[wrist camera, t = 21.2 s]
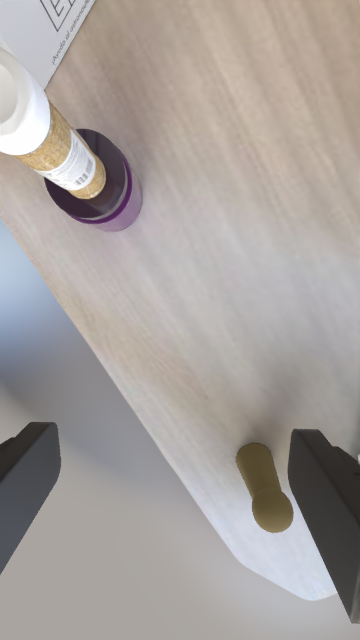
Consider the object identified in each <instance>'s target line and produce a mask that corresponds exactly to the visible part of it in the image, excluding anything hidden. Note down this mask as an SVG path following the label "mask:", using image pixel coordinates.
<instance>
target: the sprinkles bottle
mask: <svg viewBox="0 0 360 640" xmlns="http://www.w3.org/2000/svg"><path fill="white" fill-rule="evenodd" d="M0 151H1V152H3V153H6V154H10V155H12V156H14V157H16V158H17V159H19V160H20V161H22V162H23V163H24V164H26V165H27V166H28V167H30V168H31V169H33V170H35V171H36V172H38V173H40V174H41V175H43V176H44V177H46V178H48V179H49V180H51V181H52V182H54V183H55V184H57V185H59V186H60V187H62V188H64V189H66V190H68V191H69V192H70V193H71V194H72V195H74V196H76V197H78V198H82V199H90V198H93V197H95V196H97V195H98V194H99V193H100V192H101V190H102V189H103V187H104V185H105V182H106V172H105V168H104V165H103V163H102V162H101V160H100V159H99V158H98V156H96V155H95V154H94V153H93V152H92V151H91V150H90V149H89V146H88V145H87V144H86V142H85V141H84V140H83V139H82V137H81V136H80V135H79V134H78V133H77V131H76V130H75V129H74V128H73V127H72V126H71V125H70V124H69V123H68V122H67V121H66V119H65V118H64V117H63V116H62V115H61V114H60V112H59V111H58V110H57V109H56V108H55V107H54V106H53V104H52V103H51V102H50V101H49V100H48V99H47V96H46V94H45V92H44V90H43V89H42V87H41V85H40V84H39V83H38V81H37V80H36V79H35V78H34V77H33V75H32V74H31V73H30V72H29V71H28V70H27V68H26V67H25V66H24V65H23V64H22V63H21V62H20V61H19V60H18V59H17V58H16V57H15V56H13V55H12V54H11V53H9V52H7V51H6V50H4V49H1V48H0Z"/></svg>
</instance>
